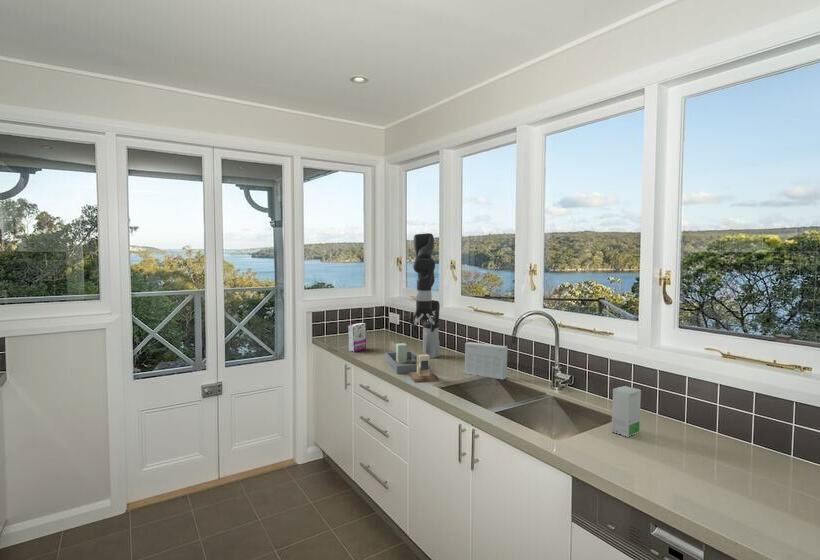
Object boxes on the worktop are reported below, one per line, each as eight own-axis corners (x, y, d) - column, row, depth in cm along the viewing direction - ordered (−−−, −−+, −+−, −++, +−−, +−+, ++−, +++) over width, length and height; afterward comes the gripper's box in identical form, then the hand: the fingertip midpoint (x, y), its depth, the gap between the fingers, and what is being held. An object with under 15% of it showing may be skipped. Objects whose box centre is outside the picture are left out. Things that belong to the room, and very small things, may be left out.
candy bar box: (360, 348, 291) (360, 322, 290) (366, 349, 288) (366, 323, 287) (348, 351, 282) (347, 324, 281) (353, 352, 279) (353, 325, 278)
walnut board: (430, 373, 233) (431, 370, 233) (438, 380, 222) (438, 377, 222) (408, 375, 230) (408, 372, 230) (414, 382, 219) (414, 379, 219)
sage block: (404, 360, 260) (404, 343, 260) (406, 362, 255) (406, 345, 255) (396, 361, 259) (396, 343, 258) (398, 363, 254) (398, 345, 253)
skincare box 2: (627, 438, 156) (629, 393, 155) (609, 431, 162) (611, 388, 161) (640, 432, 161) (642, 389, 160) (622, 426, 167) (624, 384, 166)
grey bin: (411, 358, 266) (411, 351, 266) (426, 371, 237) (426, 364, 237) (384, 359, 262) (384, 352, 262) (396, 373, 233) (396, 366, 233)
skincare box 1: (507, 377, 228) (508, 346, 227) (503, 380, 224) (504, 348, 223) (468, 371, 239) (468, 341, 238) (463, 373, 234) (464, 343, 233)
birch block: (429, 375, 224) (429, 355, 224) (419, 376, 223) (419, 356, 222) (426, 373, 229) (426, 353, 229) (416, 373, 228) (417, 354, 227)
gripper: (411, 300, 218) (411, 334, 219) (440, 299, 221) (439, 333, 223) (407, 298, 225) (407, 331, 226) (435, 298, 229) (435, 330, 230)
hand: (423, 332), depth 224 cm, fingers open, 8 cm apart
